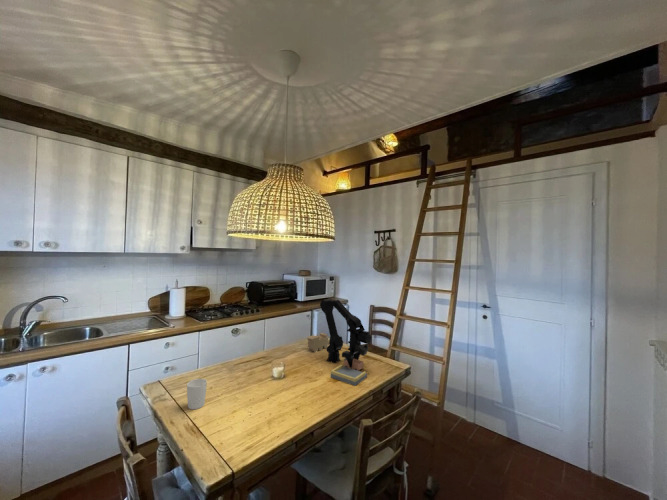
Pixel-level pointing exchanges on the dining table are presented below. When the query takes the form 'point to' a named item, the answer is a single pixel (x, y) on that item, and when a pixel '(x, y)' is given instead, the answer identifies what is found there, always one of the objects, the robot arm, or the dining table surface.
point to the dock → (348, 375)
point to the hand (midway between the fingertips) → (353, 365)
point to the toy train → (318, 342)
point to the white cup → (196, 393)
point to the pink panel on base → (354, 364)
